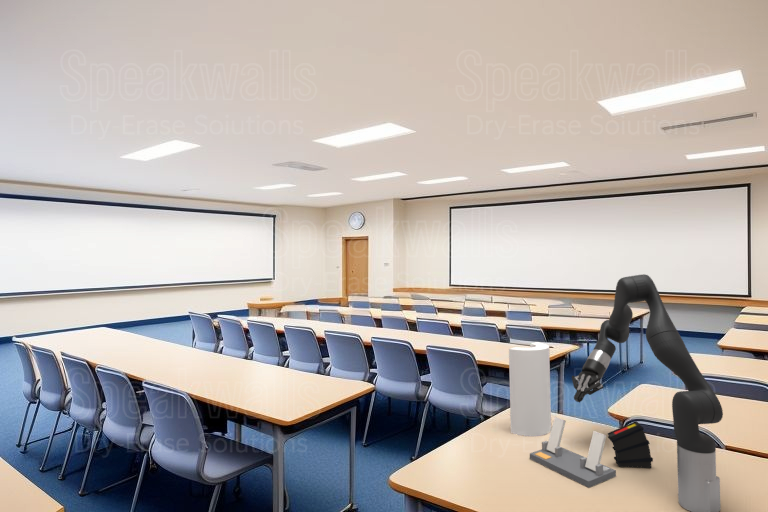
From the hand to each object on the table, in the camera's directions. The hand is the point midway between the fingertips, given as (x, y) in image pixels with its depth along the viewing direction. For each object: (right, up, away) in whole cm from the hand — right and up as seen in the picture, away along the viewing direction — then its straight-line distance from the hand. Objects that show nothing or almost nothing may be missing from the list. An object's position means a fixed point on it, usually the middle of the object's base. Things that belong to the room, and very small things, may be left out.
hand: (576, 400), depth 169 cm
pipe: (-9, -19, +20) cm, 29 cm away
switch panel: (-8, -18, -14) cm, 25 cm away
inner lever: (-4, -16, -21) cm, 27 cm away
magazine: (+13, -18, -14) cm, 26 cm away
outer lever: (-12, -16, -7) cm, 21 cm away
